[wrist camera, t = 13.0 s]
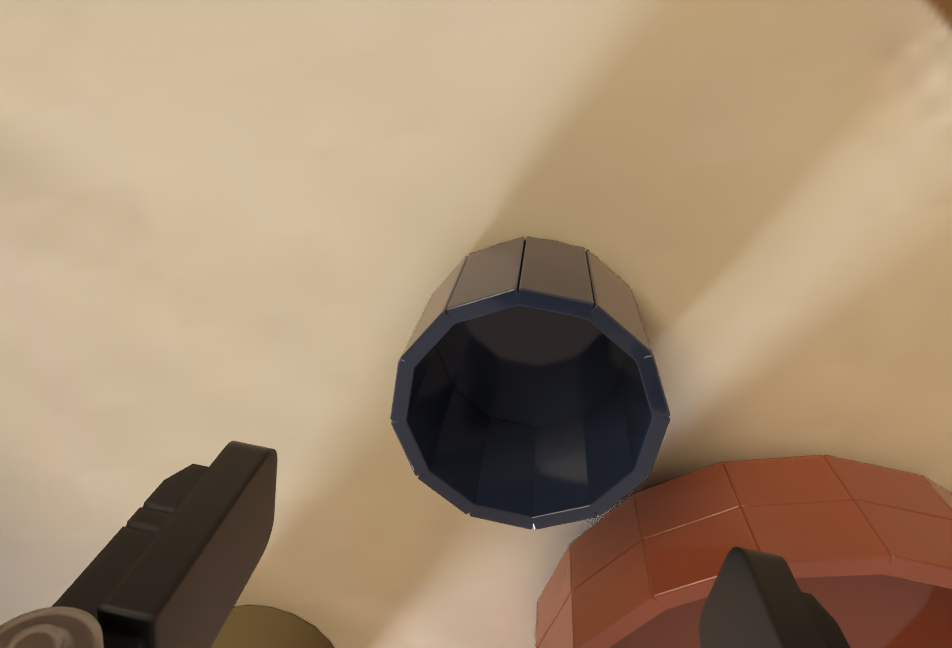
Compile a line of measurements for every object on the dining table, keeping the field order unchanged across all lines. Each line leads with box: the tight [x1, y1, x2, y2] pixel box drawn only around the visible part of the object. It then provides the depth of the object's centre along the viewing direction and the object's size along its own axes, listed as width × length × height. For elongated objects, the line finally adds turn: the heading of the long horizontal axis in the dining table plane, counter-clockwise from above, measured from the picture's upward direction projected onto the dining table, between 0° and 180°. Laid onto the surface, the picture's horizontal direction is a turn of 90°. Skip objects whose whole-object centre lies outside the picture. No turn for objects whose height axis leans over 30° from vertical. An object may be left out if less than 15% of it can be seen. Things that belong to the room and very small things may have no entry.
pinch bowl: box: [390, 237, 670, 529], centre depth 16 cm, size 6×6×5 cm
